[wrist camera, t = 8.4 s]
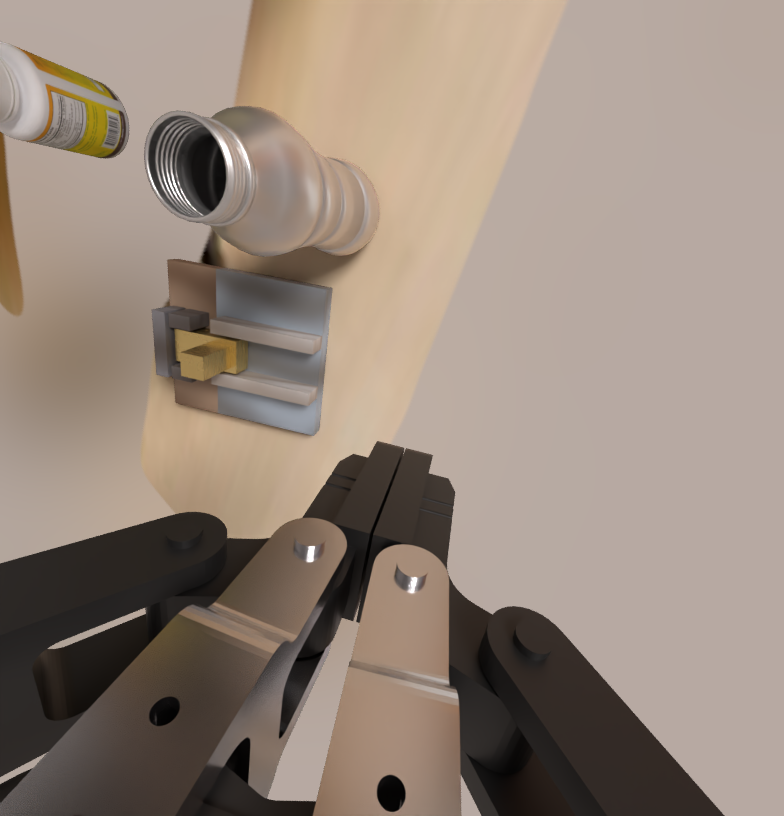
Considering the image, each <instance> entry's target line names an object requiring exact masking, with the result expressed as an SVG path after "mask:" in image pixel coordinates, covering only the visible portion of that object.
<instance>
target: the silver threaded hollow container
mask: <svg viewBox="0 0 784 816" xmlns="http://www.w3.org/2000/svg"><path fill="white" fill-rule="evenodd" d="M144 160H145V169H146V172H147V176H148V180H149V182H150V185H151V187H152V189H153V191H154V193H155V194H156V196H157V198H158V199H159V200H160V202H161V203H162V204H163V205H164V206H165V207H166V208H167V209H168V210H169V211H170V212H171V213H173V214H174V215H176V216H178V217H179V218H182V219H185V220H187V221H190V222H196V223H203V224H206V225H210V226H211V228H212V229H213V230H214V231H215V232H216V233H217V234H218V235H219V236H220V237H221V238H222V239H224V240H225V241H227V242H228V243H230V244H231V245H233V246H235V247H236V248H238V249H240V250H241V251H244V252H247V253H249V254H252V255H257V256H263V257H265V256H276V255H282V254H285V253H288V252H291V251H293V250H296V249H299V248H301V247H307V246H312V247H315V248H316V249H318V250H320V251H323V252H325V253H328V254H331V255H337V256H343V255H349V254H352V253H355V252H356V251H358V250H360V249H361V248H363V247H364V246H365V245H366V244H367V243H368V242H369V241H370V240H371V238H372V237H373V236H374V233H375V231H376V229H377V226H378V222H379V215H380V208H379V201H378V197H377V194H376V191H375V189H374V187H373V185H372V183H371V181H370V180H369V178H368V177H367V175H366V174H365V173H364V172H363V171H362V170H361V169H360V168H359V167H358V166H356V165H355V164H353V163H352V162H349V161H346V160H344V159H338V158H331V157H327V158H326V157H323V156H321V155H320V154H319V153H317V152H316V151H315V150H314V149H313V148H312V147H311V145H310V144H309V143H308V142H307V141H306V140H305V138H304V137H303V136H302V135H301V134H300V133H299V132H298V131H297V130H296V129H295V128H294V127H293V126H292V125H291V124H289V123H288V122H287V121H286V120H285V119H283V118H282V117H280V116H279V115H277V114H276V113H274V112H272V111H269V110H267V109H264V108H261V107H252V106H239V107H232V108H227V109H224V110H222V111H220V112H218V113H216V114H215V115H214V116H213V117H211V118H209V117H201V116H199V115H196V114H194V113H191V112H185V111H173V112H169V113H166V114H164V115H162V116H161V117H160V118H158V119H157V120H156V121H155V122H154V124H153V125H152V127H151V128H150V131H149V133H148V135H147V139H146V143H145V151H144Z"/></svg>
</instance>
